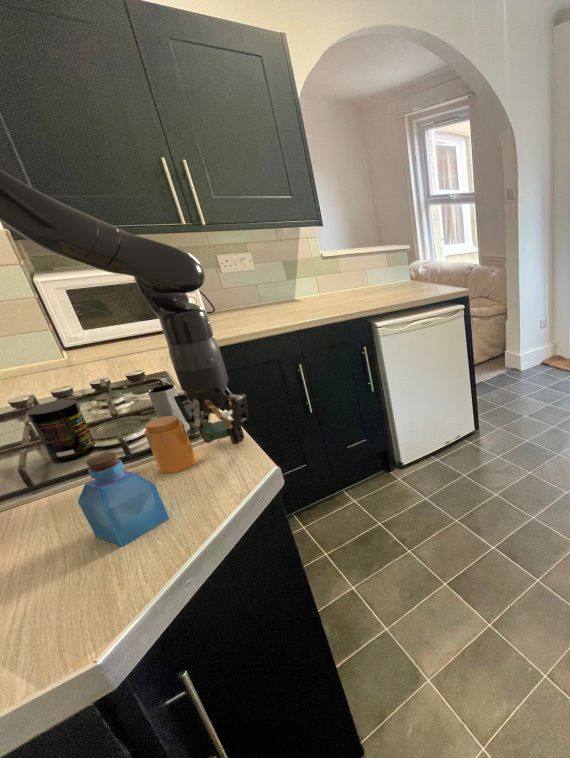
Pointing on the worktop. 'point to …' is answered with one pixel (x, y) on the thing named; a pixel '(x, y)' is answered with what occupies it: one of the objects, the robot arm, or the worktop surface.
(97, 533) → the perfume bottle
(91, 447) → the supplement container
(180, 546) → the worktop surface
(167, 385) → the planter
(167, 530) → the worktop surface
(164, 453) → the jar
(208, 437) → the lid
